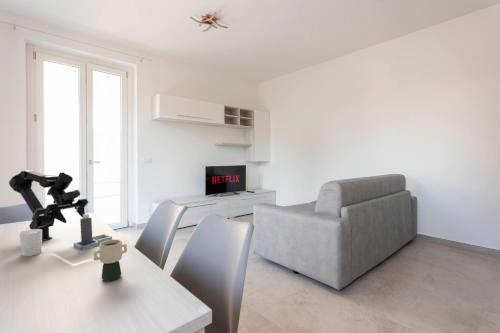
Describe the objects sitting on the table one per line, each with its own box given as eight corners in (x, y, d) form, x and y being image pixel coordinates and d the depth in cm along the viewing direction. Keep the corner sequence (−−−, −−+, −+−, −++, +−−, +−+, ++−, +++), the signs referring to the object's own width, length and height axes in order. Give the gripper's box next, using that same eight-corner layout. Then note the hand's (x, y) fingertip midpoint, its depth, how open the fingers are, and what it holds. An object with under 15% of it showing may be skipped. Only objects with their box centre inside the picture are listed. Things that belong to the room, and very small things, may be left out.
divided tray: (71, 247, 125) (70, 242, 125) (104, 238, 138) (104, 233, 138) (81, 251, 119) (81, 246, 119) (115, 242, 132) (114, 237, 132)
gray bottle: (80, 245, 125) (79, 214, 124) (91, 243, 128) (90, 213, 127) (82, 248, 121) (80, 216, 121) (93, 245, 124) (92, 214, 124)
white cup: (30, 257, 113) (28, 234, 112) (15, 256, 114) (14, 233, 114) (47, 251, 120) (46, 229, 120) (33, 249, 122) (32, 228, 122)
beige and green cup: (123, 270, 100) (123, 236, 100) (131, 276, 95) (130, 241, 94) (91, 280, 92) (90, 243, 92) (97, 287, 87) (96, 249, 87)
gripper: (46, 187, 119) (63, 213, 116) (85, 183, 136) (101, 206, 133) (36, 203, 122) (52, 229, 119) (75, 197, 140) (90, 219, 136)
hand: (75, 220), depth 127 cm, fingers open, 9 cm apart
